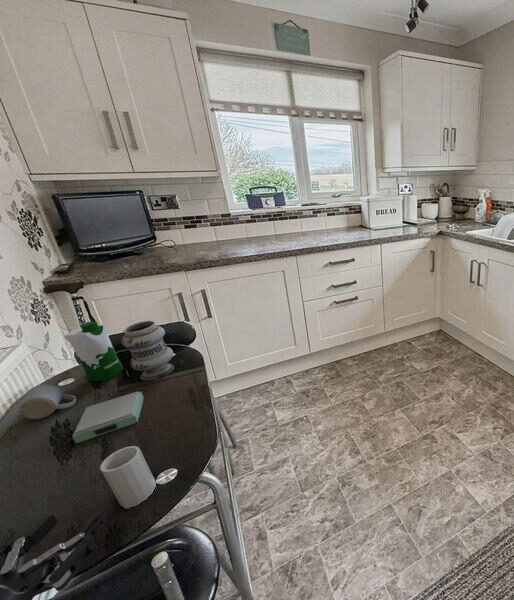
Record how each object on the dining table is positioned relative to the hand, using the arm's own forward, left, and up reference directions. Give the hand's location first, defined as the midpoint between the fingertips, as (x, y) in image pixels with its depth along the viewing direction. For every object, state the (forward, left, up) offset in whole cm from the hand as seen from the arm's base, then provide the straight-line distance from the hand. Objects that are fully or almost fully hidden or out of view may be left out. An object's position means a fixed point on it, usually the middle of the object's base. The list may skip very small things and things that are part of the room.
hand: (78, 516), depth 56 cm
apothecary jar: (+4, +66, -8) cm, 67 cm away
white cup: (+5, +9, -8) cm, 13 cm away
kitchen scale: (-5, +44, -8) cm, 45 cm away
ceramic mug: (-22, +61, -8) cm, 65 cm away
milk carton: (-12, +76, -8) cm, 77 cm away
